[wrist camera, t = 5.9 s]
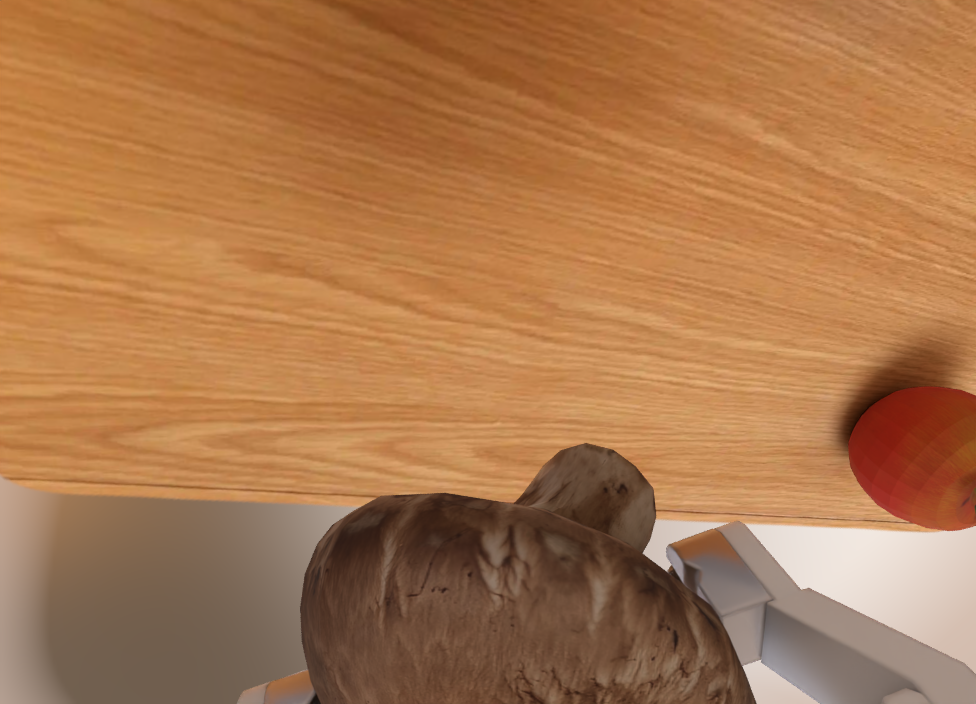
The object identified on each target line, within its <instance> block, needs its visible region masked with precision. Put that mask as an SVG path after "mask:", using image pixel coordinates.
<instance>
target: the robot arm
mask: <svg viewBox="0 0 976 704" xmlns="http://www.w3.org/2000/svg"><path fill="white" fill-rule="evenodd" d="M666 553H667V558H668V560H669V561H670V563H671V564H672V565H671V566H670V568H669V570H668V573H669V574H670V575H672V576H673V577H674V578H676V579H677V580H678V581H680V582H681V583H682V584H684V585H685V586H686V587H688V588H689V589H690V590H692V591H693V592H694V593H696V594H697V595H698V596H700V597H701V598H702V599H704V600H705V601H706V602H708V603H709V604H710V605H711V606H712V607H713V609H714V611H715V612H716V614H717V616H718V617H719V619H720V621H721V622H722V624H723V625H724V627H725V629H726V630H727V632H728V634H729V637H730V639H731V641H732V644H733V646H734V648H735V651H736V653H737V655H738V658H739V660H740V662H741V665H742V666H743V665H746V664H749V663H752V662H755V661H758V660H761V662H762V663H763V664H764V665H766V666H767V667H769V668H770V669H772V670H773V671H774V672H776V673H777V674H779V675H780V676H781V677H783V678H784V679H786V680H787V681H789V682H790V683H792V684H793V685H794V686H796V687H797V688H799V689H800V690H802V691H803V692H804V693H806V694H807V695H809V696H810V697H811V698H813V699H814V700H816V701H817V702H818V703H820V704H976V674H975V673H974V672H973V671H972V670H971V669H970V668H969V667H968V666H967V665H966V664H964V663H963V662H961V661H959V660H957V659H954V658H952V657H950V656H948V655H946V654H944V653H942V652H940V651H938V650H936V649H934V648H932V647H930V646H928V645H925V644H923V643H921V642H919V641H917V640H915V639H913V638H911V637H909V636H907V635H905V634H903V633H901V632H899V631H897V630H895V629H893V628H890V627H888V626H886V625H884V624H882V623H880V622H878V621H876V620H874V619H872V618H870V617H867V616H866V615H864V614H862V613H859V612H857V611H855V610H853V609H851V608H849V607H847V606H845V605H843V604H841V603H839V602H837V601H835V600H832V599H830V598H829V597H826V596H824V595H822V594H820V593H818V592H816V591H814V590H812V589H810V588H807V589H803V590H801V589H800V588H799V587H798V586H797V585H796V583H795V582H794V581H793V580H792V579H791V577H790V576H789V575H788V574H787V573H786V572H785V571H784V569H783V568H782V567H781V566H780V565H779V564H778V562H777V561H776V560H775V559H774V558H773V557H772V555H771V554H770V553H769V552H768V551H767V550H766V548H765V547H764V546H763V545H762V544H761V543H760V541H759V540H758V539H757V538H756V537H755V536H754V535H753V533H752V532H751V531H750V530H749V529H748V527H747V526H746V525H745V524H743V523H742V522H740V521H734V522H731V523H729V524H726V525H723V526H721V527H718V528H715V529H710V530H707V531H705V532H702V533H699V534H696V535H694V536H691V537H688V538H685V539H683V540H681V541H678V542H674V543H672V544H669V545H668V546H667V548H666ZM237 704H321V703H320V700H319V698H318V696H317V694H316V692H315V690H314V688H313V685H312V683H311V681H310V676H309V671H308V669H307V670H304V671H302V672H299V673H296V674H293V675H290V676H287V677H284V678H281V679H278V680H275V681H270V682H267V683H265V684H262V685H259V686H256V687H253V688H251V689H248V690H245V691H243V692H242V694H241V696H240V698H239V700H238V702H237Z"/></svg>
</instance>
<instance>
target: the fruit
mask: <svg viewBox="0 0 976 704" xmlns="http://www.w3.org/2000/svg"><path fill="white" fill-rule="evenodd" d="M848 449H849V459H850V466H851V469H852V471H853V473H854V475H855V477H856V479H857V481H858V482H859V484H860V485H861V487H862V488H863V489H864V491H865V492H866V493H867V494H868V495H869V496H870V497H871V498H872V499H873V500H874V502H875V503H876V504H877V505H879V506H880V507H882V508H883V509H885V510H886V511H888V512H889V513H891V514H892V515H894V516H896V517H899V518H901V519H904V520H906V521H909V522H912V523H914V524H917V525H920V526H923V527H925V528H931V529H938V530H945V531H955V530H962V529H966V528H970V527H973V526H976V396H975V395H973V394H970V393H968V392H965V391H963V390H957V389H951V388H944V387H932V386H924V387H913V388H906V389H903V390H899V391H895V392H894V393H892V394H890V395H888V396H886V397H884V398H883V399H881V400H879V401H877V402H876V403H875V404H873V405H872V406H871V407H870V408H868V409H867V410H866V411H865V413H864V414H863V415H862V416H861V417H860V419H859V420H858V422H857V423H856V425H855V427H854V429H853V432H852V434H851V437H850V440H849V443H848Z"/></svg>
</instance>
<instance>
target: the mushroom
mask: <svg viewBox="0 0 976 704" xmlns="http://www.w3.org/2000/svg"><path fill="white" fill-rule="evenodd" d="M655 519H656V509H655V499H654V490H653V487H652V486H651V485H650V484H649V482H648V481H647V480H646V479H645V478H644V476H643V475H642V474H641V473H640V471H639V470H638V469H637V468H636V466H634V465H633V464H632V463H630V462H629V461H628V460H626V459H625V458H624V457H622V456H621V455H619V454H618V453H617V452H615V451H614V450H612V449H608V448H604V447H600V446H596V445H592V444H588V443H584V444H581V445H577V446H574V447H571V448H567V449H564V450H561V451H560V452H558V453H557V454H556V455H555V456H554V457H553V458H552V459H550V460H549V461H548V462H547V463H546V464H545V465H544V466H543V467H542V468H541V470H540V471H539V473H538V474H537V475H536V477H535V478H534V480H533V481H532V482H531V484H530V485H529V486H528V488H527V489H526V490H525V492H524V493H523V494H522V495H521V496H520V498H519V499H518V500H517V501H516V502H515V503H514V504H511V503H505V502H498V501H492V500H486V499H480V498H474V497H467V496H461V495H455V494H449V493H434V494H413V495H391V496H380V497H378V498H376V499H375V500H373V501H371V502H369V503H367V504H365V505H364V506H362V507H360V508H358V509H356V510H354V511H353V512H351V513H350V514H348V515H347V516H345V517H344V518H342V519H341V520H339V521H338V522H336V523H335V524H333V525H332V526H331V527H330V529H329V530H328V531H327V533H326V534H325V535H324V536H323V538H322V539H321V540H320V541H319V543H318V544H317V546H316V549H315V551H314V553H313V556H312V558H311V561H310V563H309V566H308V568H307V570H306V573H305V577H304V584H303V592H302V599H301V606H300V613H301V631H302V632H301V633H302V644H303V649H304V653H305V658H306V662H307V667H308V671H309V676H310V681H311V683H312V685H313V688H314V690H315V692H316V694H317V696H318V698H319V700H320V703H321V704H756V701H755V698H754V696H753V693H752V690H751V688H750V685H749V682H748V679H747V677H746V674H745V672H744V669H743V667H742V665H741V662H740V660H739V658H738V655H737V653H736V651H735V648H734V646H733V644H732V641H731V639H730V637H729V634H728V632H727V630H726V629H725V627H724V625H723V624H722V622H721V621H720V619H719V617H718V616H717V614H716V612H715V611H714V609H713V607H712V606H711V605H710V604H709V603H708V602H706V601H705V600H704V599H702V598H701V597H700V596H698V595H697V594H696V593H694V592H693V591H692V590H690V589H689V588H688V587H686V586H685V585H684V584H682V583H681V582H680V581H678V580H677V579H676V578H674V577H673V576H672V575H670V574H669V573H668V572H666V571H665V570H663V569H662V568H661V567H660V566H658V565H657V564H656V563H654V562H653V561H652V560H650V559H649V558H648V557H646V556H645V555H644V554H642V553H643V551H644V550H645V548H646V546H647V544H648V542H649V541H650V538H651V534H652V531H653V526H654V523H655Z"/></svg>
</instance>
